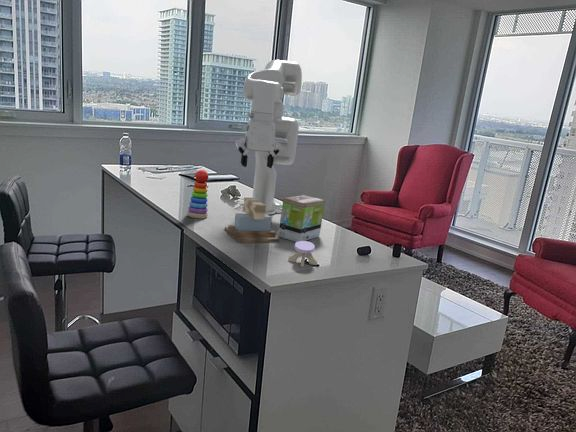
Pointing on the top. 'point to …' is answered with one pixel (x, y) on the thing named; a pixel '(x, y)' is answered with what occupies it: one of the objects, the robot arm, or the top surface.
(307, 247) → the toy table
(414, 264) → the top surface
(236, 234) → the cradle jig
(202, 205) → the stacking toy
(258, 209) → the beige rectangular block
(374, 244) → the top surface
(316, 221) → the tea box
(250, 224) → the light blue rectangular block
